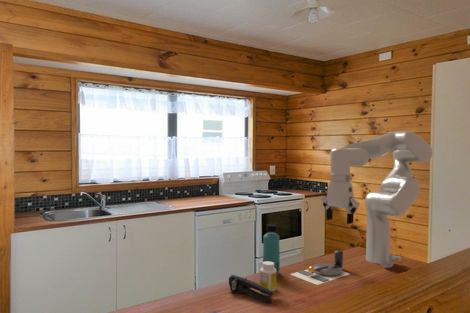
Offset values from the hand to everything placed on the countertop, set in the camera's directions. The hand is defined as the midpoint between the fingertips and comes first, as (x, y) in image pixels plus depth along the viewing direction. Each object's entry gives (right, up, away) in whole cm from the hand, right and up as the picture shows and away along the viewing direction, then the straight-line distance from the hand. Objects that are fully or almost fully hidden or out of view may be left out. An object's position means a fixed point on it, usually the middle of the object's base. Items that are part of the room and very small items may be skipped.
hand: (339, 221), depth 140 cm
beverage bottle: (-28, -20, -7) cm, 35 cm away
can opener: (-37, -20, -25) cm, 49 cm away
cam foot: (-6, -19, -5) cm, 20 cm away
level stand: (-9, -20, -7) cm, 23 cm away
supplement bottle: (-31, -20, -23) cm, 43 cm away
